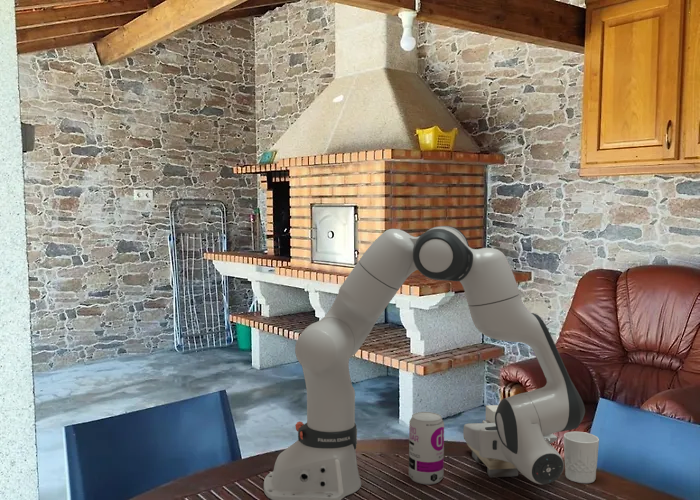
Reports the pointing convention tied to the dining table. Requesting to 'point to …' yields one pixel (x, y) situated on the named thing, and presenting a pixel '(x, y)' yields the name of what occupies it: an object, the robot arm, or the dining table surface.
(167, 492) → the dining table surface
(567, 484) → the dining table surface
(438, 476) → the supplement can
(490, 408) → the rider
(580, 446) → the white cup
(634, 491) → the dining table surface
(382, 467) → the dining table surface
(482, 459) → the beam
